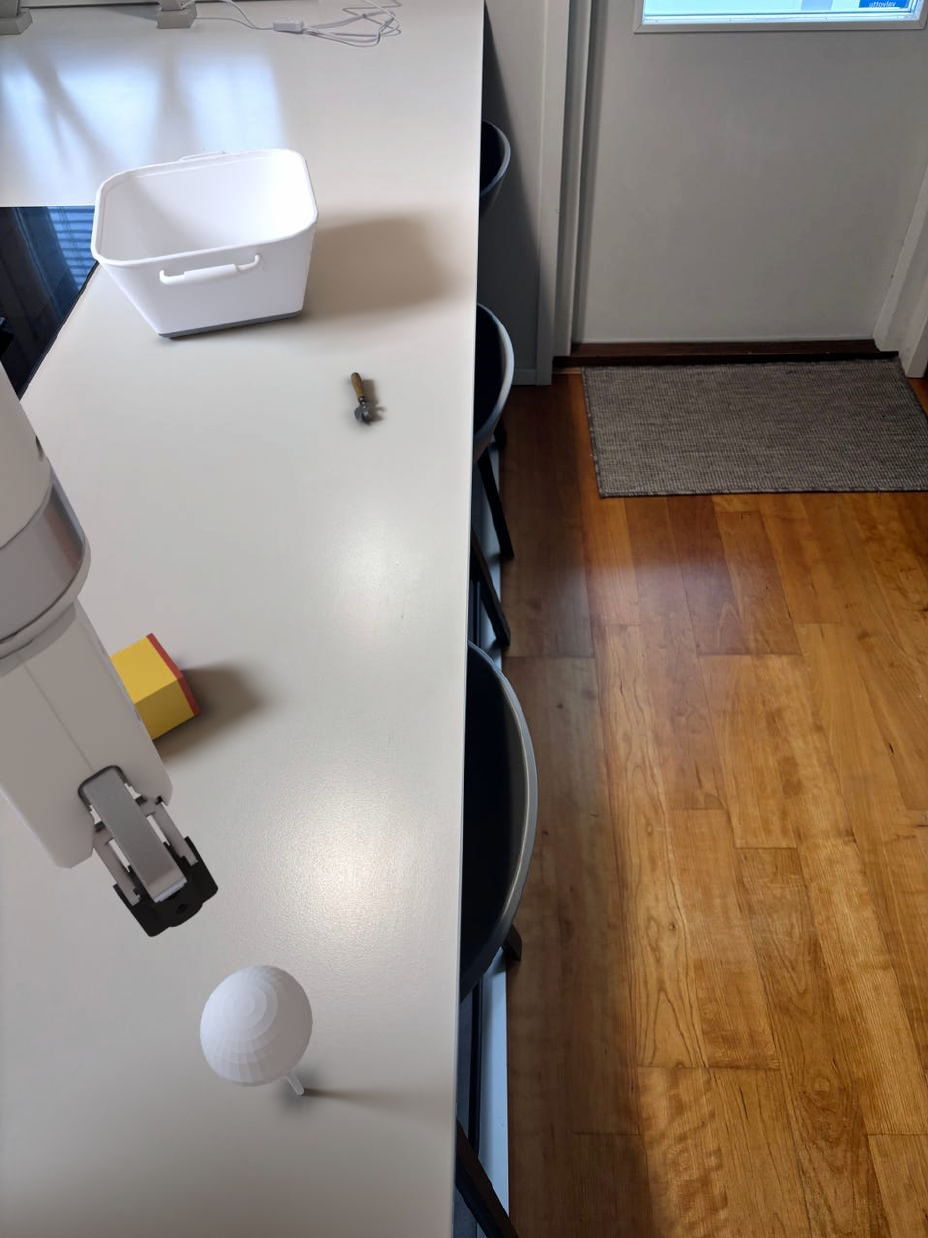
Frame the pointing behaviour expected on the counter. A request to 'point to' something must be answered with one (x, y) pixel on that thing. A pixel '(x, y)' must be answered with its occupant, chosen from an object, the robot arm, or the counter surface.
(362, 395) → the can opener
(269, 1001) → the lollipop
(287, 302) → the tub
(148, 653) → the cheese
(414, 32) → the counter surface
